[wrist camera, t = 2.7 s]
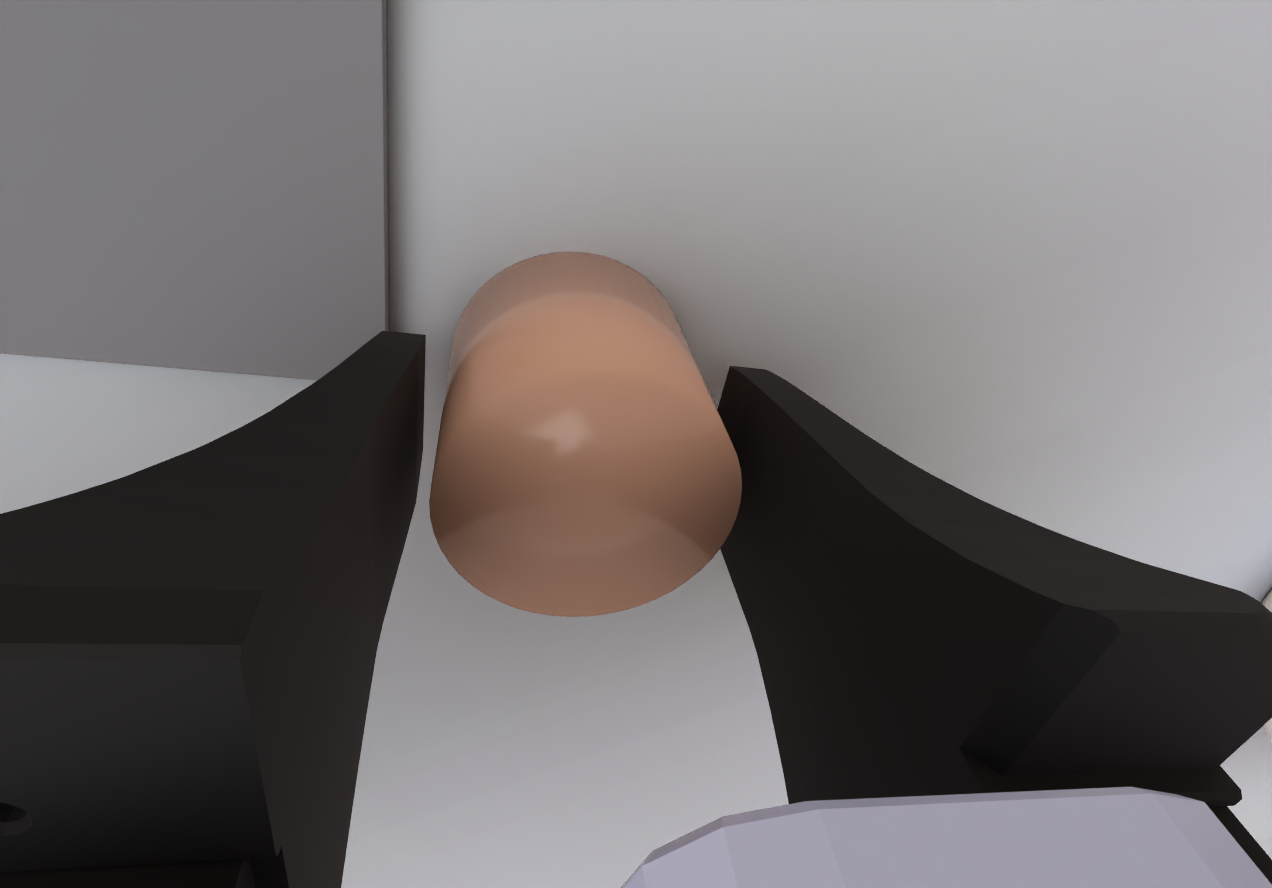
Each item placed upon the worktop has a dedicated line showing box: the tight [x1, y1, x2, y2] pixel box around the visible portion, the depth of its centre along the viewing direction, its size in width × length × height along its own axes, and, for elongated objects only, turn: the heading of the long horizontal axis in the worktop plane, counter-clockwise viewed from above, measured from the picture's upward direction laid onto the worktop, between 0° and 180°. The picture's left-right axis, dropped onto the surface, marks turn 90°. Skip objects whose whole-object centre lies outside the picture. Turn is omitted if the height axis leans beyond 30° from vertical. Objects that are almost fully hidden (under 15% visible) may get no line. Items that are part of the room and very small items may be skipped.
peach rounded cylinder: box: [429, 252, 742, 617], centre depth 11 cm, size 4×4×4 cm
